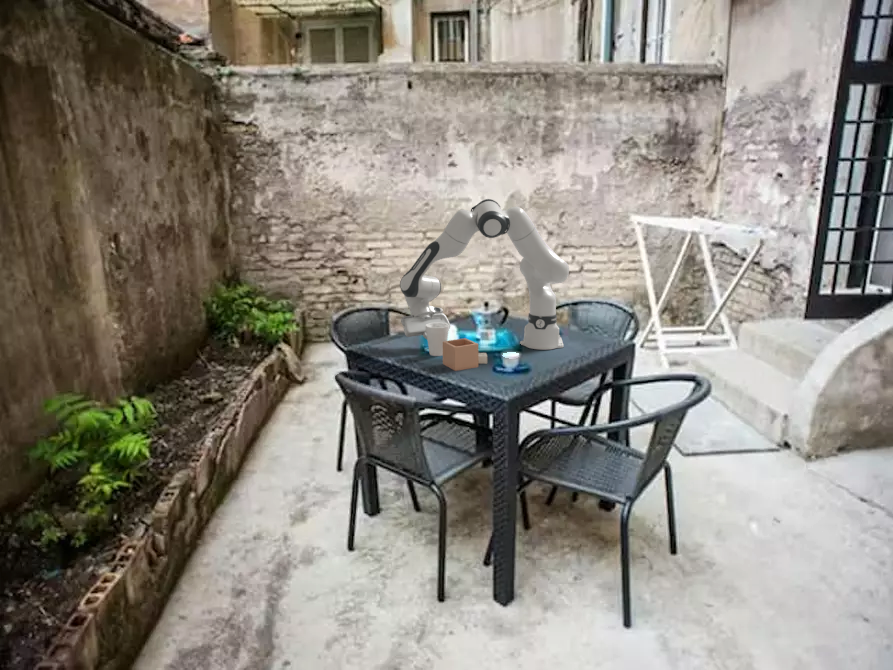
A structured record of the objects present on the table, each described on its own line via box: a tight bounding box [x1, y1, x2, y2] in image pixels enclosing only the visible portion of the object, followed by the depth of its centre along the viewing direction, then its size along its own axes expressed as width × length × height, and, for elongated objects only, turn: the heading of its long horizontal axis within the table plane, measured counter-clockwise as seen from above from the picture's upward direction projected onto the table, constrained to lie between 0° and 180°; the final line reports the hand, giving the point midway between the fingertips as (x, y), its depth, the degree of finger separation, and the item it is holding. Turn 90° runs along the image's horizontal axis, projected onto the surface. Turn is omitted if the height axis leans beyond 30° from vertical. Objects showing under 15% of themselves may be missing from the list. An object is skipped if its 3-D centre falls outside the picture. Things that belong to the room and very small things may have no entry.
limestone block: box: [478, 352, 488, 365], centre depth 232 cm, size 5×5×4 cm
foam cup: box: [426, 323, 450, 357], centre depth 242 cm, size 10×9×13 cm
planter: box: [442, 337, 479, 372], centre depth 227 cm, size 10×10×10 cm
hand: (432, 341), depth 247 cm, fingers closed, pressing on foam cup
